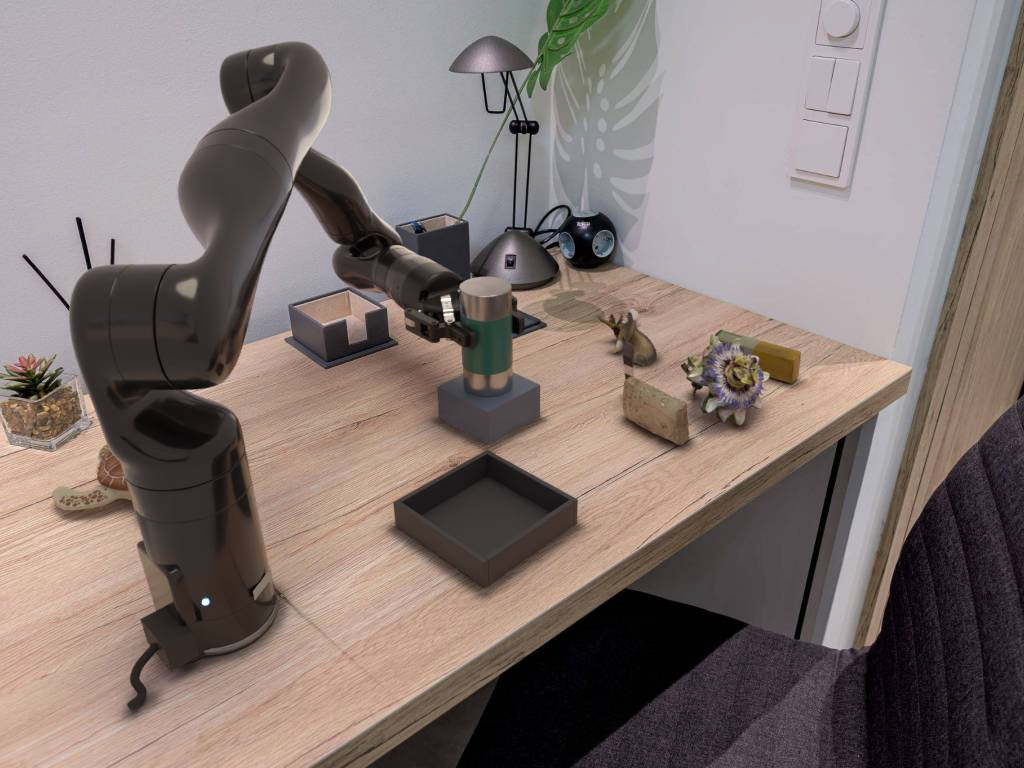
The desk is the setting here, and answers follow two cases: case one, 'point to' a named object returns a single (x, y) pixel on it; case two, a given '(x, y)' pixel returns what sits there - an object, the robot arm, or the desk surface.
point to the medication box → (767, 356)
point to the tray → (485, 516)
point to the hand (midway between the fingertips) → (498, 334)
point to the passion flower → (727, 380)
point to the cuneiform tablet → (654, 408)
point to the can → (487, 335)
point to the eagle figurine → (632, 337)
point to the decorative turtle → (106, 493)
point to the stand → (489, 408)
